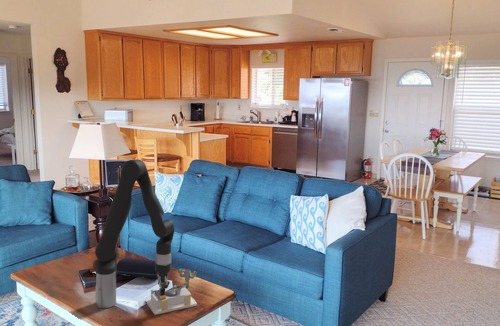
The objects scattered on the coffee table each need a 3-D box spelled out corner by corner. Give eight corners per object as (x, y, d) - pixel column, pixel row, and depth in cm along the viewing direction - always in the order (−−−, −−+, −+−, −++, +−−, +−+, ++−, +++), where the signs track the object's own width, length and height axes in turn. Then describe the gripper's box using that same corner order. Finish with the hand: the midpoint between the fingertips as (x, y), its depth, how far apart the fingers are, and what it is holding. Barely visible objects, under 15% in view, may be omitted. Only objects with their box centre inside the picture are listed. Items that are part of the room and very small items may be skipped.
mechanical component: (195, 290, 242) (195, 272, 241) (177, 287, 244) (177, 270, 243) (196, 287, 245) (197, 270, 243) (179, 285, 247) (179, 268, 245)
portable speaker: (163, 274, 260) (164, 258, 258) (158, 282, 250) (159, 265, 248) (121, 271, 262) (121, 254, 260) (115, 278, 252) (115, 261, 250)
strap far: (184, 285, 223) (183, 282, 224) (176, 288, 233) (176, 285, 233) (188, 284, 224) (187, 281, 225) (180, 287, 234) (180, 284, 234)
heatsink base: (154, 314, 215) (154, 302, 214) (145, 301, 228) (145, 289, 226) (197, 305, 226) (197, 293, 225) (185, 292, 239) (186, 281, 237)
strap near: (161, 301, 217) (161, 298, 217) (153, 292, 227) (153, 289, 227) (166, 300, 218) (166, 297, 218) (158, 291, 228) (158, 288, 228)
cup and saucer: (87, 269, 262) (87, 259, 261) (109, 266, 267) (109, 256, 266) (89, 277, 252) (89, 267, 251) (111, 274, 257) (111, 264, 256)
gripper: (151, 257, 219) (150, 290, 222) (160, 267, 208) (159, 302, 211) (166, 255, 223) (165, 287, 226) (175, 265, 211) (174, 299, 214)
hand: (162, 294), depth 218 cm, fingers closed
